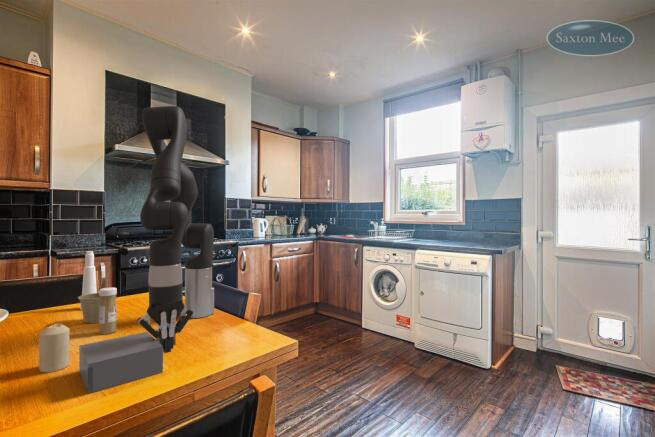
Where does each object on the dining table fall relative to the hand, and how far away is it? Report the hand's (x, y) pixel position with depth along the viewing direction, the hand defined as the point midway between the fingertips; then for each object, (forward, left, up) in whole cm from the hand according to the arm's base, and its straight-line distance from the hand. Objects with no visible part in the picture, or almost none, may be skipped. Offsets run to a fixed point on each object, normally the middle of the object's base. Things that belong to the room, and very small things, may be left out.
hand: (166, 351), depth 83 cm
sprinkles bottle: (+7, -33, -2) cm, 34 cm away
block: (-3, -11, -2) cm, 12 cm away
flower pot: (+8, -49, -2) cm, 50 cm away
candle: (+21, -13, -2) cm, 25 cm away
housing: (+10, 0, -2) cm, 10 cm away
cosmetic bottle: (+7, -69, -2) cm, 69 cm away
